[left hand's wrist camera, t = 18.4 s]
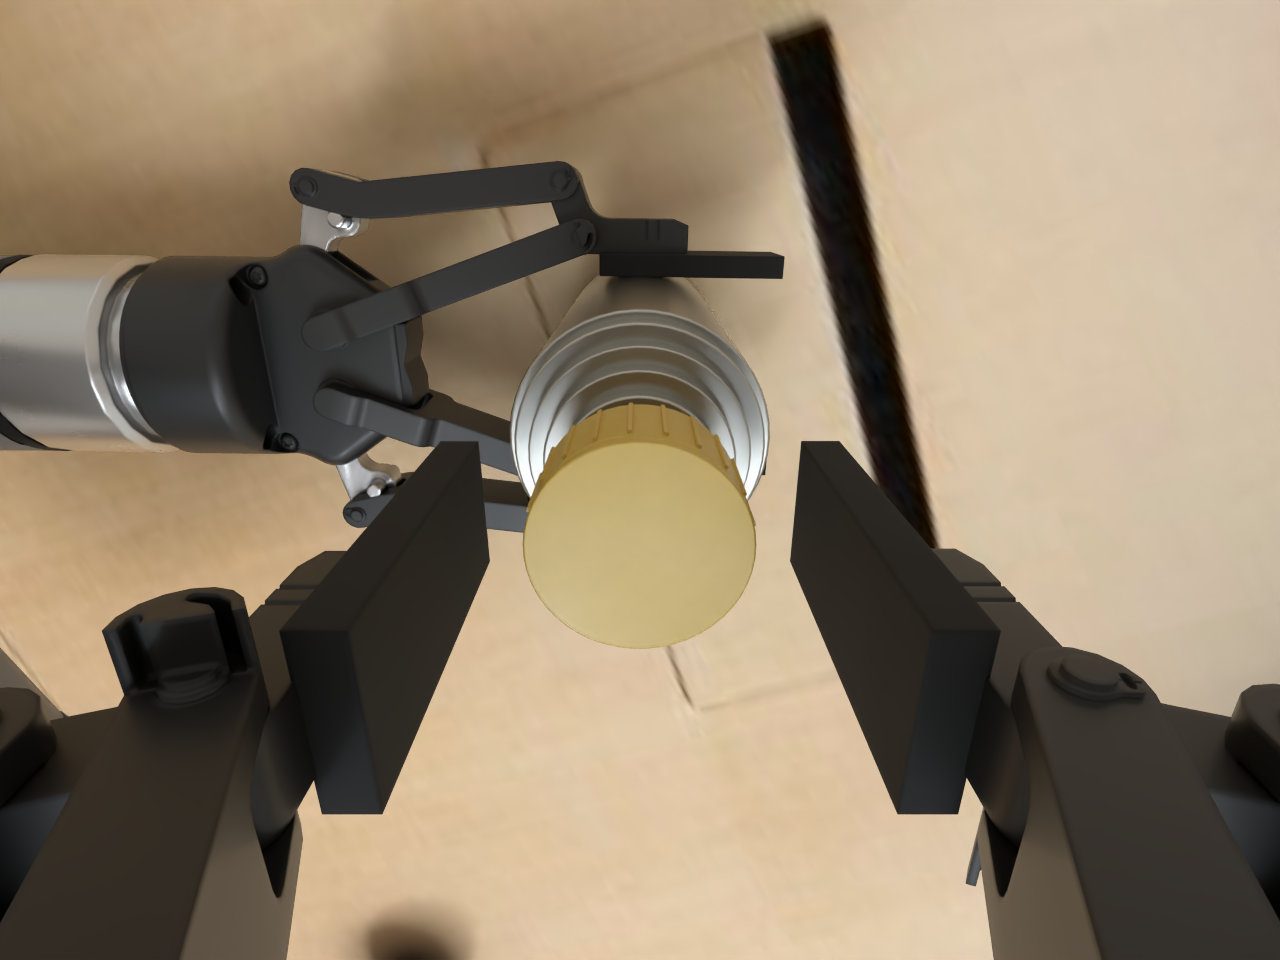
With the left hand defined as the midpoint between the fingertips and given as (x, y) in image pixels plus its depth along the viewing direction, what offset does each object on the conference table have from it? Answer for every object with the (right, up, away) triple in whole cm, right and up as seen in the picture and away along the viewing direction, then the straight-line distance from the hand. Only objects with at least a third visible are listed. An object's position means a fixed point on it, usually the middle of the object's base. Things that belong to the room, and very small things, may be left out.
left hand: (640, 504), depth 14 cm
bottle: (0, +7, +18) cm, 20 cm away
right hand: (+5, +5, +13) cm, 15 cm away
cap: (0, -1, -2) cm, 2 cm away
